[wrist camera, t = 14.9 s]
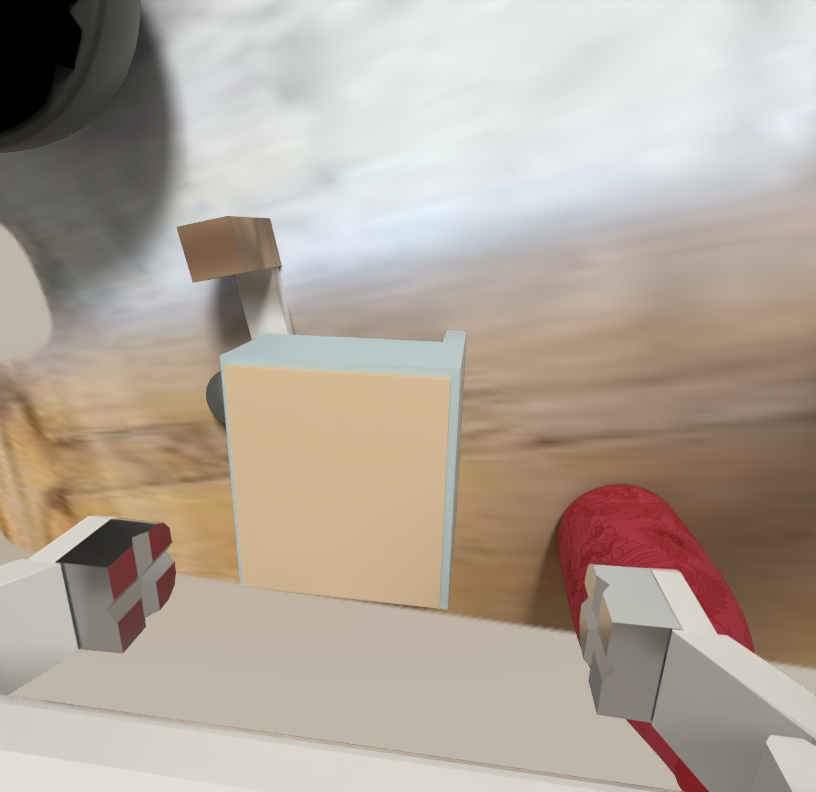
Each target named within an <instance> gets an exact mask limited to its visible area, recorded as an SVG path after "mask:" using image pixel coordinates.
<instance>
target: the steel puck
mask: <svg viewBox="0 0 816 792" xmlns="http://www.w3.org/2000/svg"><path fill="white" fill-rule="evenodd" d="M206 398H207V403H208V406H209V408H210V410H211V412H212V413H213V414H214V416H215V417H216V418H217V419H218V420H220V421H221V422H222V423H224V424H226V420H225V409H224V398H223V387H222V376H221V371H220V372H218V373H217V374H215V375H214V376H213V377H212V378H211V380H210V381H209V383H208V386H207V391H206Z"/></svg>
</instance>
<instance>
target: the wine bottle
mask: <svg viewBox="0 0 816 792" xmlns="http://www.w3.org/2000/svg"><path fill="white" fill-rule="evenodd" d="M558 549H559V556H560V562H561V568H562V573H563V578H564V583H565V588H566V593H567V598H568V602H569V607H570V611H571V615H572V619H573V623H574V627H575V631H576V634H577V638H578V641H579V644H580V646H581V643H580V613H581V604H582V603H583V602H584V601H585V600H587V599H588V598H589V597H588V594H587V590H586V587H585V577H586V571H587V568H588V565H589V564H597V565H610V566H624V567H637V568H658V569H674V570H678V571H679V572H681V573H682V575H683V577H684V579H685V580H686V582H687V584H688V585H689V587H690V589H691V590H692V592H693V594H694V595H695V597H696V599H697V600H698V602H699V604H700V605H701V607H702V609H703V610H704V612H705V614H706V615H707V617H708V619H709V620H710V622H711V624H712V625H713V627H714V629H715V630H716V632H717V634H719V635H728V636H729V637H731V638H732V639H733V640H735V641H736V642H738V643H739V644H741V645H742V646H744V647H745V648H747V649H748V650H750V651H751V652H753V653H754V654H755V651H754V646H753V642H752V638H751V635H750V632H749V628H748V625H747V622H746V620H745V617H744V615H743V612H742V610H741V608H740V606H739V604H738V602H737V600H736V598H735V596H734V595H733V593H732V591H731V590H730V588H729V586H728V585H727V583H726V582H725V580H724V579H723V577H722V576H721V574H720V573H719V571H718V570H717V568H716V567H715V566H714V564H713V563H712V561H711V560H710V558H709V557H708V556H707V554H706V553H705V551H704V550H703V549H702V547H701V546H700V545H699V543H698V542H697V540H696V539H695V538H694V536H693V535H692V534H691V532H690V531H689V530H688V528H687V527H686V526H685V524H684V523H683V522H682V520H681V519H680V518H679V517H678V515H677V514H676V513H675V512H674V511H673V509H672V508H671V507H670V506H669V505H668V504H667V503H666V502H665V501H664V500H663V499H661V498H660V497H658V496H657V495H655V494H654V493H652V492H650V491H648V490H646V489H643V488H640V487H637V486H632V485H621V484H617V485H608V486H603V487H599V488H596V489H593V490H591V491H589V492H587V493H585V494H583V495H582V496H580V497H579V498H578V499H577V500H575V501H574V502H573V503H572V504H571V505H570V506H569V508H568V509H567V510H566V512H565V514H564V515H563V517H562V520H561V522H560V525H559V530H558ZM588 665H589V664H588ZM589 667H590V669H591V666H590V665H589ZM626 720H627V721H628V722H629V723H630V724H631V726H632V727H633V728H634V729H635V730H636V731H637V732H638V733H639V734H640V736H641V737H642V738H643V739H644V740H645V741H646V742H647V743H648V744H649V745H650V747H651V748H652V749H653V750H654V751H655V752H656V753H657V755H658V756H659V757H660V758H661V759H662V760H663V761H664V763H665V764H666V765H667V766H668V767H669V769H670V770H671V771H672V772H673V774H674V775H675V777H676V780H677V782H678V785H679V786H680V788H681V789H682V791H683V792H709V791H708V790H707V789H706V788H705V786H704V785H703V784H702V783H701V782H700V781H699V779H698V778H697V777H696V776H695V775H694V774H693V773H692V771H691V770H690V769H689V768H688V767H687V766H686V764H685V763H684V762H683V761H682V760H681V759H680V758H679V756H678V755H677V754H676V753H675V752H674V751H673V749H672V748H671V747H670V746H669V745H668V744H667V743H666V741H665V740H664V739H663V738H662V737H661V736H660V735H659V733H658V732H657V731H656V730H655V729H654V728H653V726H652V723H649V722H643V721H636V720H630V719H626Z"/></svg>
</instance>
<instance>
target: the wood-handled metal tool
mask: <svg viewBox="0 0 816 792" xmlns="http://www.w3.org/2000/svg"><path fill="white" fill-rule="evenodd" d="M177 230H178V234H179V237H180V240H181V244H182V247H183V251H184V254H185V257H186V261H187V264H188V268H189V271H190V274H191V278H192V281H193V282H198V281H204V280H210V279H215V278H221V277H226V276H232V275H234V276H235V280H236V284H237V287H238V291H239V295H240V298H241V302H242V306H243V310H244V313H245V317H246V321H247V324H248V328H249V332H250V335H251V339H252V340H254V339H256V338H258V337H260V336H262V335H264V334H266V333H269V334H290V335H295V331H294V327H293V323H292V319H291V315H290V311H289V307H288V303H287V299H286V294H285V290H284V286H283V282H282V278H281V274H280V270H279V266H282V265H281V261H280V257H279V253H278V249H277V245H276V241H275V237H274V233H273V229H272V225H271V221H270V219H268V218H251V217H233V216H225V217H221V218H216V219H211V220H207V221H202V222H198V223H193V224H188V225H184V226H179V227H177Z"/></svg>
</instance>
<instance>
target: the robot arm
mask: <svg viewBox="0 0 816 792" xmlns="http://www.w3.org/2000/svg"><path fill="white" fill-rule="evenodd" d="M171 543H172V540H171V534H170V529H169V527H168V526H167V525H166V524H164V523H162V522H153V521H145V520H136V519H128V518H116V517H111V516H99V515H95V516H88V517H86V518H85V519H84V520H82V521H81V522H79V523H78V524H77V525H75V526H74V527H72V528H71V529H70V530H68V531H67V532H65V533H64V534H63V535H61V536H60V537H58V538H57V539H56V540H54V541H53V542H51V543H50V544H49V545H47V546H46V547H44V548H43V549H42V550H40V551H39V552H37V553H36V554H35V555H33V556H32V557H31V558H29V559H28V560H22V559H19V560H16V561H13V562H10V563H7V564H4V565H1V566H0V792H683V791H676V790H668V789H662V788H654V787H648V786H641V785H633V784H626V783H619V782H611V781H604V780H597V779H589V778H583V777H576V776H569V775H562V774H555V773H548V772H540V771H534V770H527V769H520V768H513V767H506V766H500V765H492V764H486V763H479V762H471V761H464V760H458V759H451V758H444V757H437V756H430V755H423V754H417V753H409V752H402V751H396V750H389V749H382V748H375V747H368V746H361V745H354V744H347V743H340V742H333V741H326V740H319V739H312V738H304V737H298V736H290V735H284V734H277V733H269V732H262V731H255V730H248V729H241V728H234V727H227V726H219V725H213V724H206V723H199V722H191V721H184V720H178V719H170V718H163V717H156V716H149V715H142V714H135V713H128V712H122V711H115V710H108V709H101V708H94V707H87V706H80V705H73V704H65V703H59V702H52V701H45V700H38V699H31V698H24V697H17V696H10V695H8V694H10V693H12V692H13V691H15V690H17V689H18V688H20V687H22V686H23V685H25V684H26V683H28V682H30V681H31V680H33V679H35V678H36V677H38V676H40V675H41V674H43V673H44V672H46V671H48V670H49V669H51V668H52V667H54V666H56V665H57V664H59V663H61V662H62V661H64V660H66V659H67V658H69V657H71V656H72V655H74V654H76V653H77V652H78V651H79V649H83V650H94V651H104V652H114V653H124V652H125V650H126V649H127V648H128V647H129V646H130V645H131V643H132V642H133V641H134V640H135V639H136V638H137V636H138V635H139V634H140V633H141V632H142V631H143V629H144V628H145V627H146V623H145V617H147V616H149V615H151V614H153V613H155V612H157V611H159V610H160V609H161V608H162V607H163V605H164V604H165V603H166V602H167V601H168V599H169V597H170V595H171V592H172V590H173V587H174V584H175V576H176V569H175V562H174V560H173V559H172V558H171V557H170V555H169V554H168V553H167V552H166V550H167V549H168V547H169V546H170V544H171ZM585 587H586V590H587V594H588V597H589V598H588V599H587V600H585V601H584V602H583V603H582V604H581V613H580V643H581V649H582V654H583V658H584V660H585V661H586V662H587V663H588V664H589V665H590V666H591V669H590V676H589V683H590V687H591V691H592V696H593V700H594V704H595V708H596V712H597V714H598V715H604V716H611V717H617V718H624V719H630V720H636V721H643V722H649V723H652V726H653V728H654V729H655V730H656V731H657V732H658V733H659V735H660V736H661V737H662V738H663V739H664V740H665V741H666V743H667V744H668V745H669V746H670V747H671V748H672V749H673V751H674V752H675V753H676V754H677V755H678V756H679V758H680V759H681V760H682V761H683V762H684V763H685V764H686V766H687V767H688V768H689V769H690V770H691V771H692V773H693V774H694V775H695V776H696V777H697V778H698V779H699V781H700V782H701V783H702V784H703V785H704V786H705V788H706V789H707V790H708V791H709V792H816V695H815V694H813V693H812V692H810V691H809V690H807V689H806V688H804V687H803V686H802V685H800V684H798V683H797V682H795V681H794V680H793V679H791V678H790V677H788V676H787V675H785V674H784V673H782V672H781V671H779V670H778V669H776V668H775V667H773V666H772V665H770V664H769V663H768V662H766V661H765V660H763V659H762V658H760V657H759V656H757V655H756V654H754V653H753V652H751V651H750V650H748V649H747V648H745V647H744V646H742V645H741V644H739V643H738V642H736V641H735V640H733V639H732V638H731V637H729V636H728V635H719V634H717V632H716V630H715V629H714V627H713V625H712V624H711V622H710V620H709V619H708V617H707V615H706V614H705V612H704V610H703V609H702V607H701V605H700V604H699V602H698V600H697V599H696V597H695V595H694V594H693V592H692V590H691V589H690V587H689V585H688V584H687V582H686V580H685V579H684V577H683V575H682V573H681V572H679V571H678V570H674V569H658V568H637V567H624V566H610V565H597V564H589V565H588V568H587V571H586V577H585Z"/></svg>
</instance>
